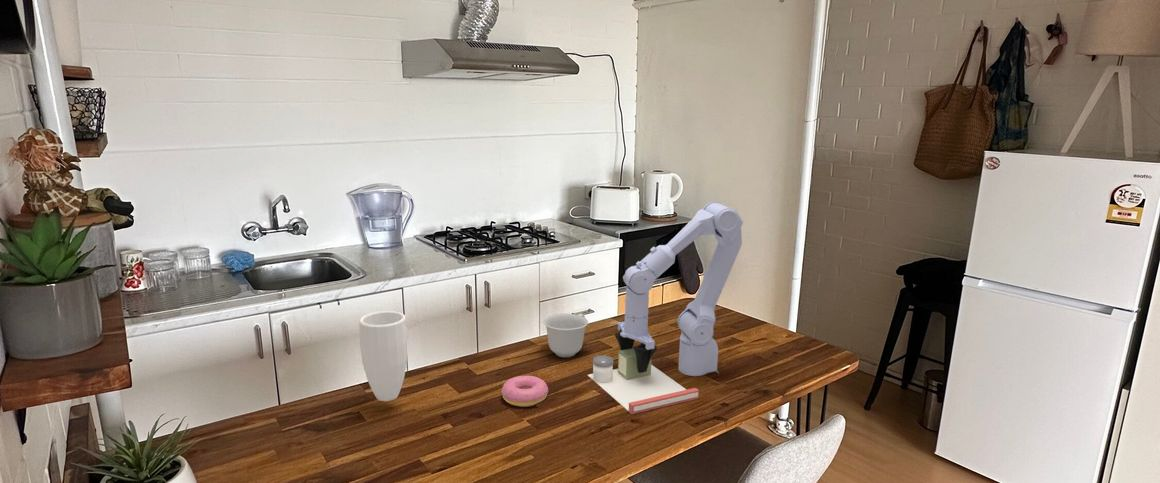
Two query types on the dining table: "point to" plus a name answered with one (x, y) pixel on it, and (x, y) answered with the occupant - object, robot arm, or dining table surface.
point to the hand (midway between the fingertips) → (634, 365)
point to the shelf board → (647, 391)
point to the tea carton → (630, 365)
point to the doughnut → (524, 391)
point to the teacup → (565, 333)
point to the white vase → (384, 352)
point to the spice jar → (602, 369)
